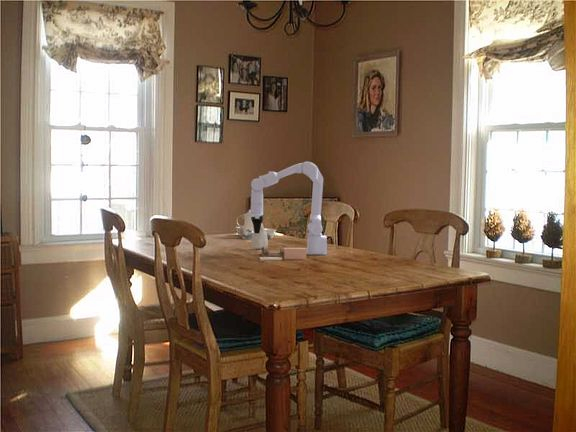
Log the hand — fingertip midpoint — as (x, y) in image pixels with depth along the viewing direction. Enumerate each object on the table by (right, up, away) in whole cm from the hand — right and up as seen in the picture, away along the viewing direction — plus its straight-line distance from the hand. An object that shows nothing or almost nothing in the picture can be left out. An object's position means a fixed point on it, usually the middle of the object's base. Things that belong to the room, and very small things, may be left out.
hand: (256, 232), depth 328 cm
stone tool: (+1, -9, +14) cm, 17 cm away
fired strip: (+7, -12, -16) cm, 21 cm away
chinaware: (-5, -5, +59) cm, 59 cm away
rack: (+9, -11, -6) cm, 15 cm away
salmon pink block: (+18, -12, -14) cm, 25 cm away
